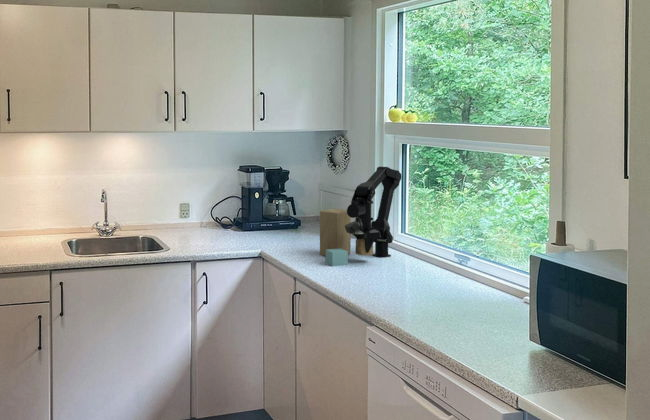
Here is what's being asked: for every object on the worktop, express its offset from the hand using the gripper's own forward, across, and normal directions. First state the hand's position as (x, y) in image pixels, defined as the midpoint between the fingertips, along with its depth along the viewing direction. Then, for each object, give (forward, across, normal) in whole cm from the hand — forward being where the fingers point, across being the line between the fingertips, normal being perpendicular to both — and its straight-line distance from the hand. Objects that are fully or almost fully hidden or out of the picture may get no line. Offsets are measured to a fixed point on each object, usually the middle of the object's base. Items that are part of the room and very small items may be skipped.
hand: (364, 251), depth 345 cm
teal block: (+5, 0, -13) cm, 14 cm away
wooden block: (+5, -19, -5) cm, 20 cm away
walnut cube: (+1, 0, 0) cm, 1 cm away
